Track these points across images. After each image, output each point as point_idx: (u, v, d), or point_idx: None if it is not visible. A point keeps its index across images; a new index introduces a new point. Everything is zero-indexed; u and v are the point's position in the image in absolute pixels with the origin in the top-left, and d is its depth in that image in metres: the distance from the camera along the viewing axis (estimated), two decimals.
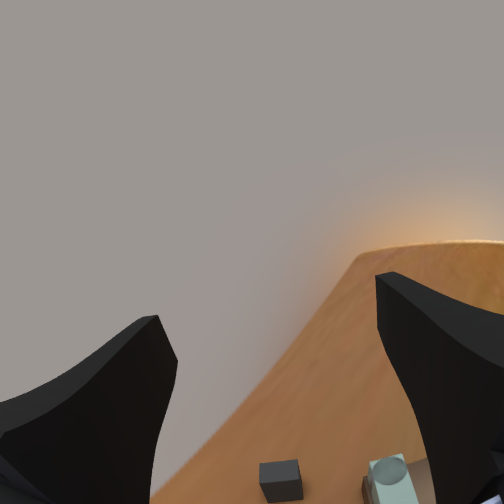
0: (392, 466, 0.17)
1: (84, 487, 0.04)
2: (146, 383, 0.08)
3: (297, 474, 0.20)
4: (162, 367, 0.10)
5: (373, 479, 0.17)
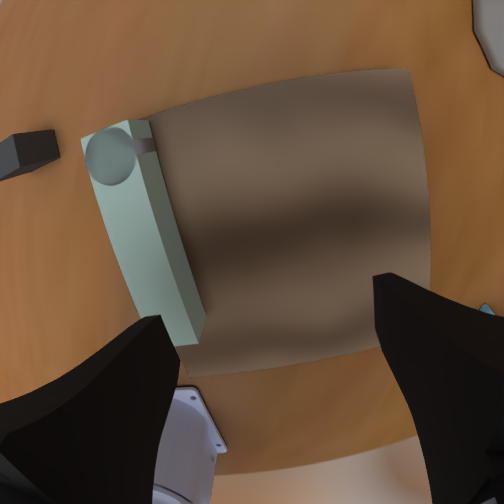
0: (113, 148, 0.12)
1: (87, 488, 0.04)
2: (149, 383, 0.08)
3: (17, 159, 0.13)
4: (165, 367, 0.09)
5: None
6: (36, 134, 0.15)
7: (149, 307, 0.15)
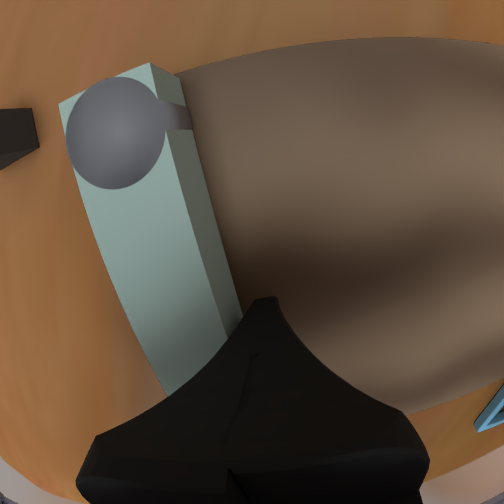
0: (118, 117, 0.06)
1: None
2: None
3: None
4: None
5: (75, 161, 0.07)
6: (4, 113, 0.09)
7: None
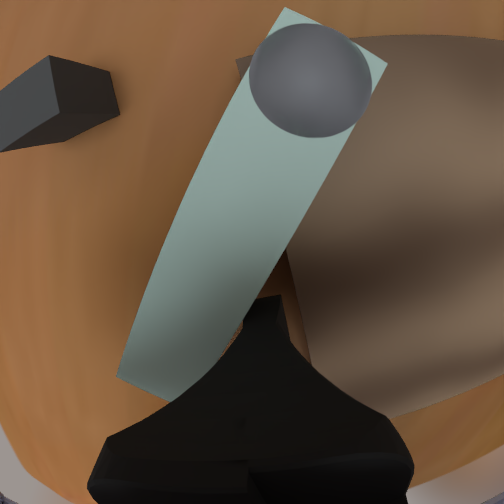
0: (329, 73, 0.06)
1: None
2: None
3: (54, 99, 0.07)
4: None
5: (251, 64, 0.06)
6: (85, 69, 0.09)
7: (157, 334, 0.08)
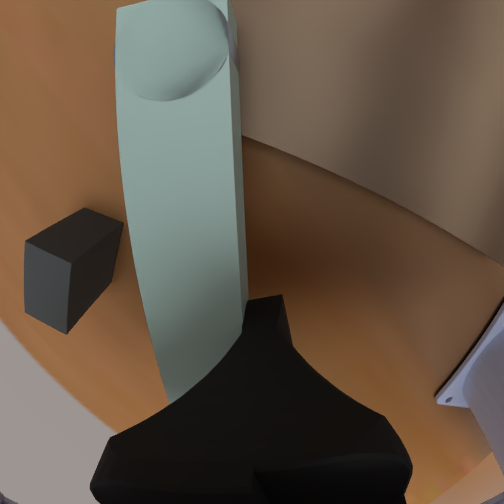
0: (180, 30, 0.05)
1: None
2: None
3: (59, 259, 0.09)
4: None
5: None
6: (63, 222, 0.11)
7: (177, 345, 0.08)
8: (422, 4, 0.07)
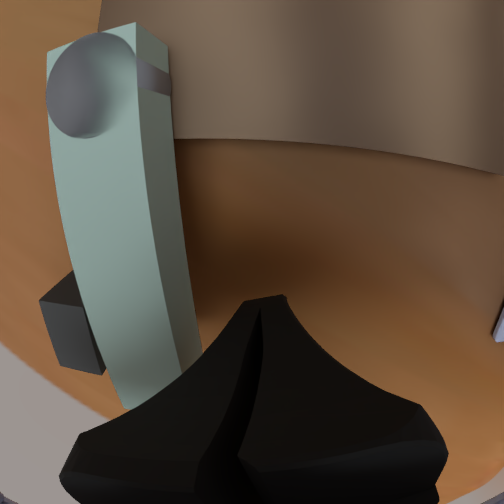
0: (97, 69, 0.06)
1: None
2: None
3: (72, 307, 0.09)
4: None
5: None
6: (72, 274, 0.11)
7: (121, 356, 0.08)
8: None
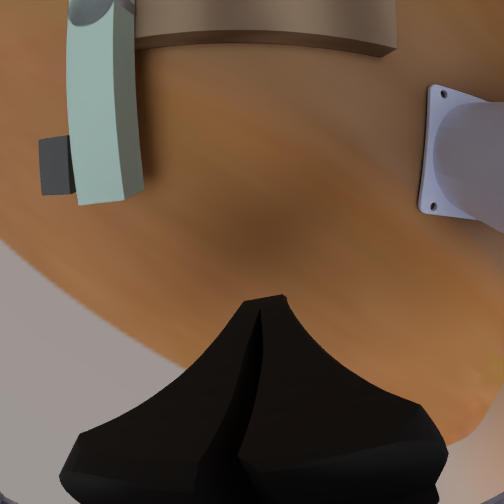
0: None
1: None
2: None
3: (60, 138, 0.13)
4: None
5: None
6: None
7: (83, 151, 0.12)
8: None
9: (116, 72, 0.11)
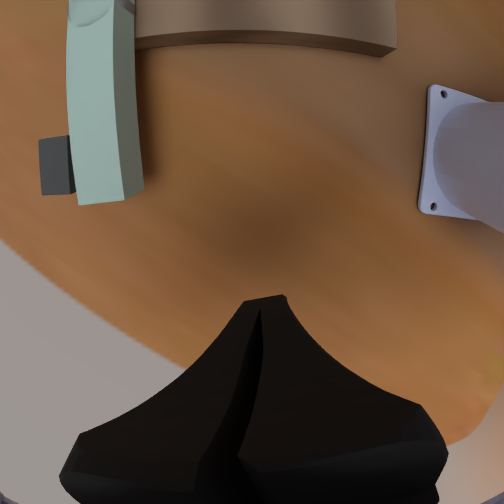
0: None
1: None
2: None
3: (60, 138, 0.13)
4: None
5: None
6: None
7: (83, 151, 0.12)
8: None
9: (116, 72, 0.11)
